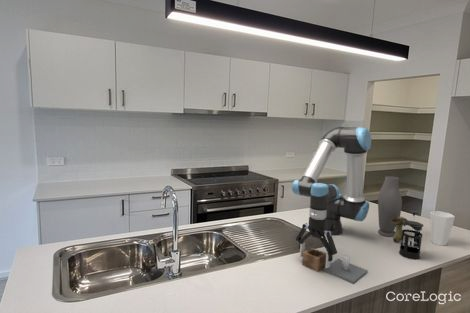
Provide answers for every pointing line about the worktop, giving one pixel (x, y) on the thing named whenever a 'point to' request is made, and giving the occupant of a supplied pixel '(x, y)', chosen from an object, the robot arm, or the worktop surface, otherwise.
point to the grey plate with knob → (345, 270)
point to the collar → (314, 259)
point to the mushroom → (398, 227)
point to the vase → (389, 206)
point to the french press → (408, 246)
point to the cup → (441, 227)
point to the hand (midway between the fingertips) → (314, 261)
